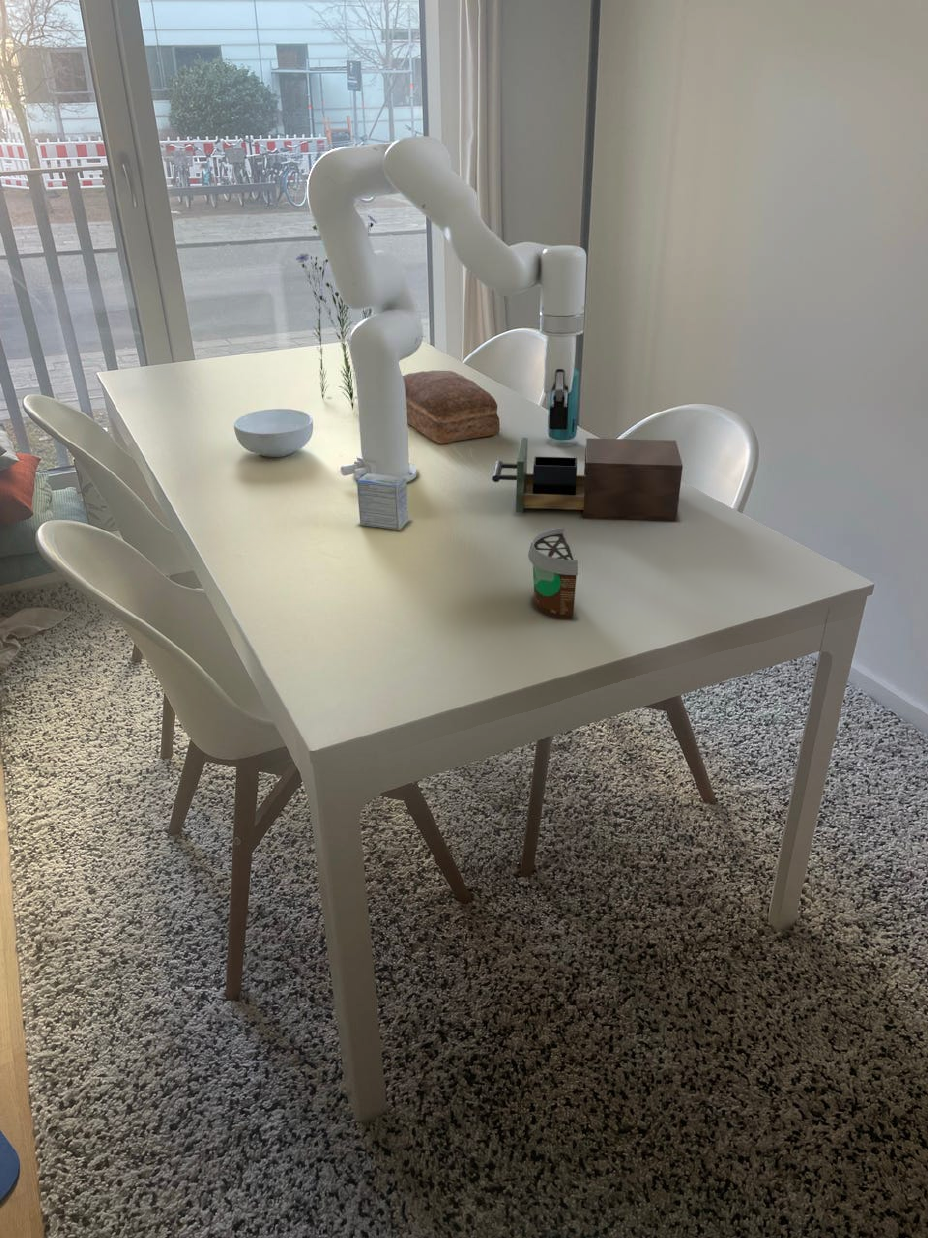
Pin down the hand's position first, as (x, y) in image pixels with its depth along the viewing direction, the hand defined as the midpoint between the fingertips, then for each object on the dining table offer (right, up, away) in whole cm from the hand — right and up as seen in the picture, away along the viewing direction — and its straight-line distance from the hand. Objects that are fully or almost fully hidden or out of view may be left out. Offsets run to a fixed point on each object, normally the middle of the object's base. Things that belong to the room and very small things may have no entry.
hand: (558, 420), depth 164 cm
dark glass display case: (0, -12, +7) cm, 14 cm away
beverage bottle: (+5, +3, +38) cm, 39 cm away
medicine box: (-32, -19, 0) cm, 37 cm away
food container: (-5, -34, -27) cm, 43 cm away
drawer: (-1, -13, +8) cm, 15 cm away
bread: (-22, +10, +51) cm, 57 cm away
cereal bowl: (-58, +1, +35) cm, 68 cm away
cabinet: (+13, -15, +7) cm, 21 cm away
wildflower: (-45, +19, +66) cm, 83 cm away
